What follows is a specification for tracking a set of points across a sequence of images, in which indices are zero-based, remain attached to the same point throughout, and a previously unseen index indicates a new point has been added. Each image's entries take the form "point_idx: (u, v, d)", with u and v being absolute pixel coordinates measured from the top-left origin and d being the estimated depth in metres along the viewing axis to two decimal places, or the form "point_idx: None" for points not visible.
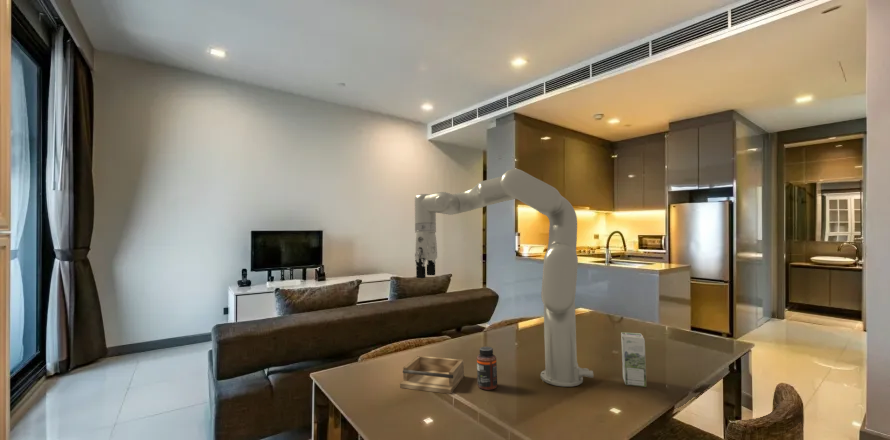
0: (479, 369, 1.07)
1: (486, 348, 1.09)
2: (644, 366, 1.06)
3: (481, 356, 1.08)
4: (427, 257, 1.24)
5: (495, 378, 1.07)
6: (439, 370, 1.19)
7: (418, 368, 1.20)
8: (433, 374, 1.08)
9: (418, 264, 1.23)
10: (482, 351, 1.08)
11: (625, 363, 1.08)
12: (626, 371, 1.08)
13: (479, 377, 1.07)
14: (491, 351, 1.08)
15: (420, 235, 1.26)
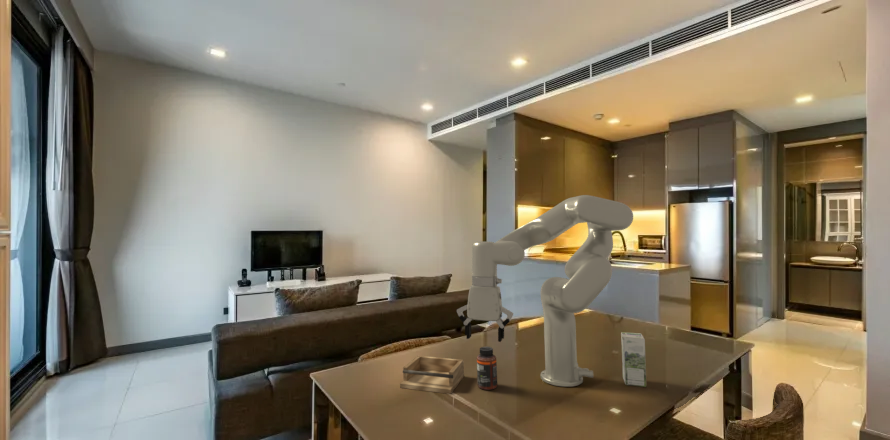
0: (479, 369, 1.07)
1: (486, 348, 1.09)
2: (644, 366, 1.06)
3: (481, 356, 1.08)
4: None
5: (495, 378, 1.07)
6: (439, 370, 1.19)
7: (418, 368, 1.20)
8: (433, 374, 1.08)
9: (505, 325, 1.07)
10: (482, 351, 1.08)
11: (625, 363, 1.08)
12: (626, 371, 1.08)
13: (479, 377, 1.07)
14: (491, 351, 1.08)
15: (499, 291, 1.08)
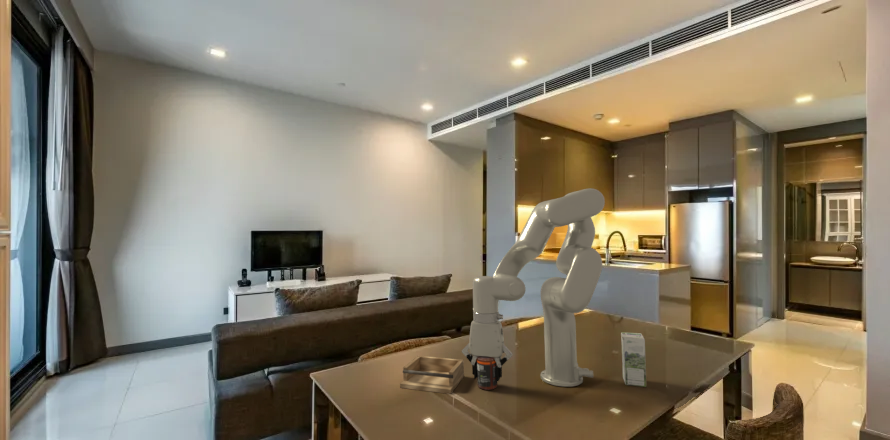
0: (479, 369, 1.07)
1: None
2: (644, 366, 1.06)
3: (481, 356, 1.08)
4: None
5: (495, 378, 1.07)
6: (439, 370, 1.19)
7: (418, 368, 1.20)
8: (433, 374, 1.08)
9: None
10: None
11: (625, 363, 1.08)
12: (626, 371, 1.08)
13: (479, 377, 1.07)
14: None
15: (501, 326, 1.08)
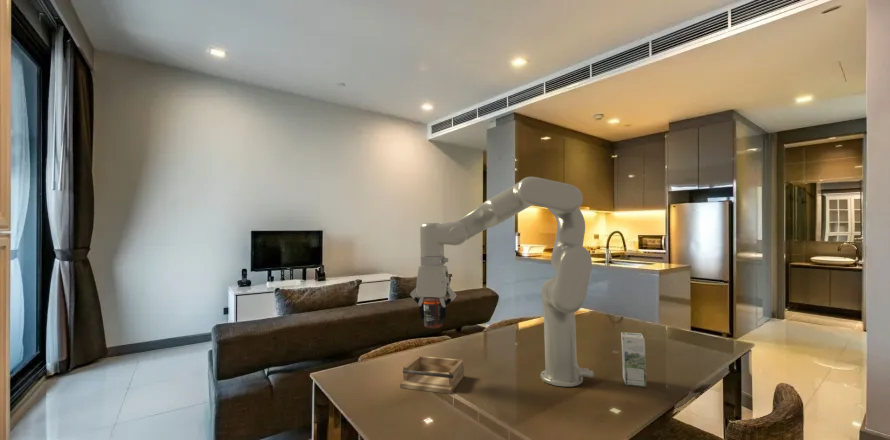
0: (425, 309, 1.13)
1: None
2: (644, 366, 1.06)
3: (427, 297, 1.14)
4: None
5: (440, 317, 1.13)
6: (439, 370, 1.19)
7: (418, 368, 1.20)
8: (433, 374, 1.08)
9: (447, 304, 1.13)
10: None
11: (625, 363, 1.08)
12: (626, 371, 1.08)
13: (425, 317, 1.13)
14: None
15: (446, 269, 1.14)
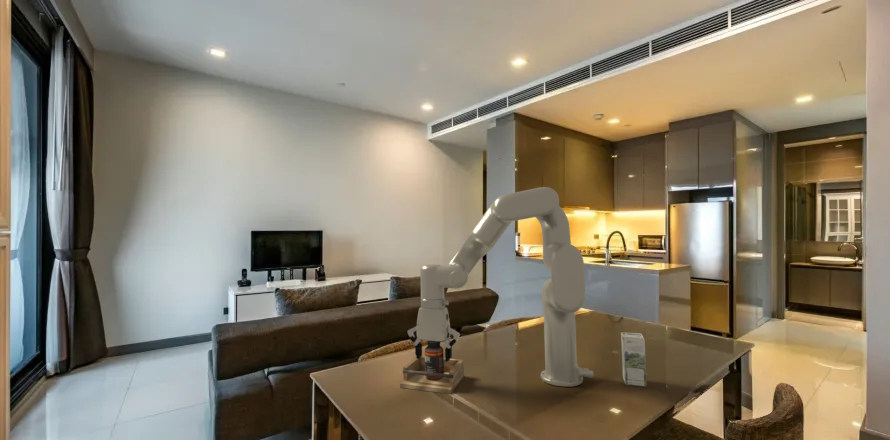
0: (426, 360, 1.12)
1: None
2: (644, 366, 1.06)
3: (428, 348, 1.13)
4: None
5: (441, 369, 1.12)
6: None
7: (418, 368, 1.20)
8: (433, 374, 1.08)
9: (452, 345, 1.12)
10: (429, 343, 1.13)
11: (625, 363, 1.08)
12: (626, 371, 1.08)
13: (426, 368, 1.12)
14: (438, 343, 1.13)
15: (446, 312, 1.13)
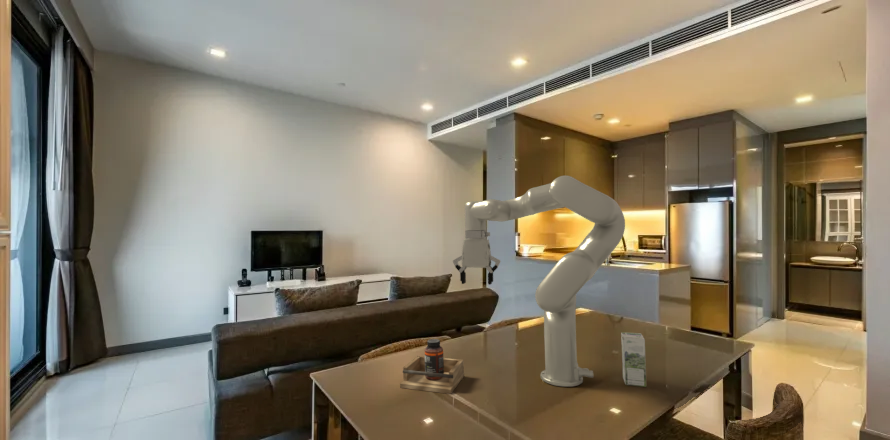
0: (426, 360, 1.12)
1: (433, 340, 1.14)
2: (644, 366, 1.06)
3: (428, 348, 1.13)
4: None
5: (441, 369, 1.12)
6: None
7: (418, 368, 1.20)
8: (433, 374, 1.08)
9: (494, 270, 1.27)
10: (429, 343, 1.13)
11: (625, 363, 1.08)
12: (626, 371, 1.08)
13: (426, 368, 1.12)
14: (438, 343, 1.13)
15: (488, 242, 1.29)
